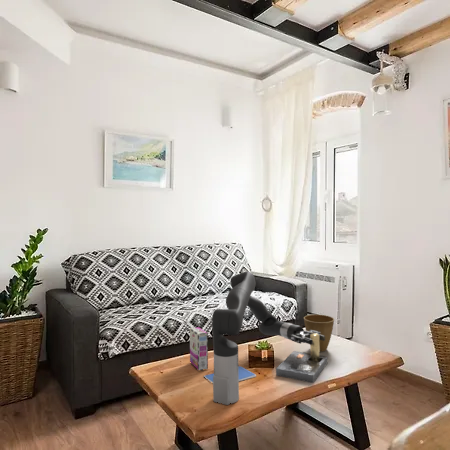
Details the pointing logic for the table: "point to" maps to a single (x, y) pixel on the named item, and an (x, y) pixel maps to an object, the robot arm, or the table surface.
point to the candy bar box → (199, 348)
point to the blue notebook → (243, 374)
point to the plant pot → (320, 327)
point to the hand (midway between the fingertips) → (318, 340)
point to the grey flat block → (301, 367)
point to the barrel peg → (315, 348)
